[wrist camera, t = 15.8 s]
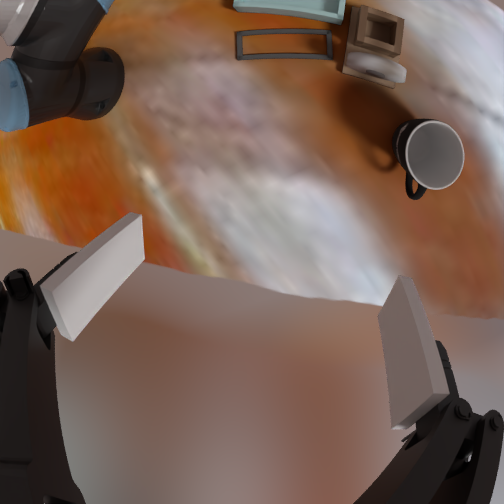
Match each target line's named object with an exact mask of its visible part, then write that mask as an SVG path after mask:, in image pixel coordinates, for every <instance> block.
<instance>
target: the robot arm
mask: <svg viewBox="0 0 504 504" xmlns="http://www.w3.org/2000/svg"><path fill="white" fill-rule="evenodd" d="M113 2H114V0H0V36H2V37H3V39H4V40H5V42H6V44H7V46H15V48H14V51H13V54H12V56H11V58H6V59H5V60H3V61H1V62H0V129H1V130H2V131H5V132H11V131H15V130H19V129H25V128H27V127H30V126H33V125H36V124H40V123H43V122H46V121H50V120H54V119H57V118H61V117H71V118H75V119H80V120H93V119H97V118H100V117H103V116H104V115H106V114H107V113H108V112H109V111H111V109H112V108H113V107H114V106H115V104H116V103H117V101H118V99H119V97H120V95H121V92H122V89H123V85H124V66H123V63H122V60H121V58H120V57H119V55H118V54H117V53H116V52H115V51H113V50H111V49H108V48H100V47H97V48H91V49H88V50H85V51H83V50H84V48H85V46H86V45H87V43H88V41H89V39H90V38H91V36H92V34H93V33H94V31H95V29H96V28H97V26H98V25H99V23H100V22H101V20H102V18H103V17H104V15H105V14H107V13H108V9H109V8H110V6H111V5H112V3H113ZM144 259H145V256H144V244H143V230H142V215H140V214H136V213H131V212H130V213H128V214H127V215H125V216H124V217H123V218H121V219H120V220H119V221H117V222H116V223H115V224H113V225H112V226H111V227H109V228H108V229H107V230H105V231H104V232H103V233H101V234H100V235H99V236H98V237H96V238H95V239H94V240H93V241H91V242H90V243H89V244H88V245H86V246H85V247H84V248H83V249H81V250H80V251H79V252H75V253H73V254H71V255H69V256H67V257H66V258H65V259H64V260H63V261H61V262H60V264H58V265H57V266H55V267H54V269H52V270H51V271H50V272H48V273H47V274H46V275H45V276H44V277H43V278H42V279H41V280H40V281H38V282H37V283H36V284H35V285H34V286H33V283H32V281H31V278H30V275H29V272H28V271H27V270H26V269H16V270H13V271H12V272H10V273H9V274H8V275H7V276H6V277H5V278H4V280H3V282H4V284H5V286H6V289H7V291H6V290H5V288H4V286H3V284H2V282H1V281H0V504H44V503H45V504H86V503H85V500H84V498H83V495H82V493H81V491H80V489H79V488H78V487H77V485H76V484H75V483H74V481H73V479H72V476H71V472H70V469H69V464H68V461H67V456H66V452H65V447H64V441H63V436H62V430H61V424H60V417H59V409H58V401H57V390H56V376H55V335H54V331H53V329H54V328H55V327H56V326H57V327H58V329H59V332H60V333H61V335H62V336H64V337H66V338H67V339H69V340H71V341H74V340H75V338H76V337H77V336H78V335H79V333H80V332H81V331H82V330H83V329H84V327H85V326H86V325H87V324H88V322H89V321H90V320H91V319H92V318H93V317H94V315H95V314H96V313H97V312H98V311H99V309H100V308H101V307H102V306H103V305H104V304H105V302H106V301H107V300H108V299H109V298H110V297H111V295H112V294H113V293H114V292H115V291H116V290H117V289H118V287H120V285H121V284H122V283H123V282H124V281H125V280H126V279H127V278H128V277H129V275H130V274H131V273H132V272H133V271H134V270H135V269H136V268H137V267H138V266H139V265H140V264H141V263H142V262H143V261H144ZM378 321H379V327H380V333H381V338H382V344H383V351H384V358H385V365H386V374H387V382H388V392H389V403H390V415H391V429H407V428H409V427H410V426H412V425H413V424H414V423H416V430H415V431H413V432H412V433H411V434H409V435H408V436H406V437H405V438H404V439H403V440H402V442H404V441H405V440H407V441H406V442H405V444H404V445H403V446H402V448H401V449H400V450H399V452H398V453H397V454H396V456H395V457H394V458H393V460H392V461H391V462H390V464H389V465H388V466H387V467H386V468H385V470H384V471H383V472H382V473H381V475H380V476H379V477H378V478H377V479H376V480H375V481H374V482H373V483H372V485H371V486H370V487H369V488H368V489H367V490H366V491H365V492H364V493H363V494H362V495H361V496H360V497H359V499H357V500H356V501H355V502H354V503H353V504H489V503H490V500H491V497H492V493H493V489H494V485H495V481H496V476H497V472H498V467H499V461H500V456H501V448H502V441H503V432H504V422H503V418H502V416H501V415H500V413H499V412H497V411H496V410H490V411H489V412H487V413H486V414H485V415H484V416H481V415H478V414H476V413H473V412H472V408H471V406H470V404H469V403H468V402H467V401H466V400H464V399H462V398H459V394H458V390H457V386H456V382H455V379H454V375H453V371H452V370H451V365H450V362H449V358H448V355H447V352H446V349H445V348H444V346H443V345H442V343H441V342H440V341H437V340H435V339H434V336H433V333H432V330H431V327H430V324H429V321H428V318H427V316H426V313H425V310H424V307H423V305H422V302H421V299H420V297H419V294H418V292H417V289H416V287H415V285H414V282H413V280H412V278H409V277H405V276H401V275H399V276H398V278H397V280H396V282H395V284H394V286H393V288H392V290H391V292H390V294H389V296H388V298H387V300H386V302H385V303H384V305H383V307H382V309H381V311H380V313H379V314H378ZM470 455H472V456H471V460H470V461H469V462H468V457H469V456H470Z"/></svg>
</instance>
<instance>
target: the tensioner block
mask: <svg viewBox="0 0 504 504" xmlns="http://www.w3.org/2000/svg"><path fill="white" fill-rule="evenodd" d="M403 28H404V19H402V18H400V17H397V16H394V15H392V14H389V13H386V12H383V11H380V10H377V9H374V8H370V7H367V6H364V5H361V7H360V8H357V7H354V6H352V9H351V17H350V24H349V31H348V38H347V45H346V51H345V57H344V63H343V69H342V73H343V74H347V75H351V76H354V77H358V78H361V79H364V80H368V81H371V82H374V83H377V84H380V85H383V86H386V87H389V88H392V89H394V88H395V83H396V82H398V83H404V82H405V77H406V71H407V70H406V69H405V68H404V67H403V66H401V65H400V64H399V58H400V53H401V45H402V37H403Z"/></svg>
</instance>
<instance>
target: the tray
mask: <svg viewBox="0 0 504 504" xmlns="http://www.w3.org/2000/svg"><path fill="white" fill-rule="evenodd" d="M345 1H346V0H234V3H233V7H234V8H235V9H236V10H237V11H238V12H251V13H267V14H278V15H287V16H294V17H301V18H307V19H313V20H319V21H324V22H329V23H333V24H338V25H341V24H342V21H343V16H344V9H345Z"/></svg>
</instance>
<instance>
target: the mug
mask: <svg viewBox="0 0 504 504" xmlns="http://www.w3.org/2000/svg"><path fill="white" fill-rule="evenodd" d="M392 146H393V151H394V154H395V156H396V158H397V160H398V161H399V163H400V164H401V166H402V167H403V168H404V170H405V171H406V182H405V186H406V193H407V195H408V197H409V198H411V199H413V200H418V199H420V198H421V197H422V196H423V194H424V193H425V191H426V189H427V188H429V189H436V190H437V189H443V188H446V187H448V186H450V185H451V184H452V183H454V182H455V181H456V179H457V178H458V177H459V175H460V173H461V171H462V168H463V164H464V149H463V145H462V142H461V140H460V138H459V136H458V134H457V133H456V132H455V130H454V129H453V128H451V127H450V126H449V125H447V124H446V123H444V122H441V121H438V120H434V119H414V120H409V121H407V122H404V123H402V124H401V125H400V126H399V127H398V128H397V129H396V131H395V132H394V135H393V139H392ZM413 179H414V180H415V181H416V182H417V183H418V189H417V191H416V192H415V194H414V193H413V189H412V181H413Z"/></svg>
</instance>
